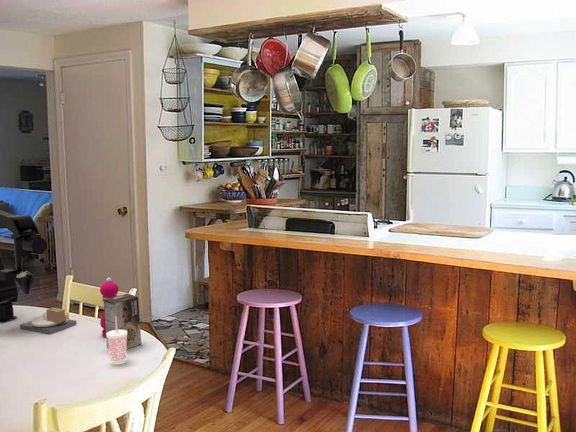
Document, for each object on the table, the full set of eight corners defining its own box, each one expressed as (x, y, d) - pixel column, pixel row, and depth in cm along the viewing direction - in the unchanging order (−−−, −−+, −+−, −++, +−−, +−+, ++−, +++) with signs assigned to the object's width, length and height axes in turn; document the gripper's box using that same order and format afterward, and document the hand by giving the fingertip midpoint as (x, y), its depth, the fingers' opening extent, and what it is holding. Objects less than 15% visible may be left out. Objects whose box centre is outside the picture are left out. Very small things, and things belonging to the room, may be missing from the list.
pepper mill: (99, 333, 209) (96, 276, 206) (120, 330, 212) (117, 274, 209) (102, 339, 202) (99, 281, 200) (124, 336, 205) (121, 278, 203)
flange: (48, 329, 208) (47, 314, 208) (25, 324, 215) (23, 309, 214) (74, 320, 218) (73, 306, 217) (51, 315, 224) (50, 302, 224)
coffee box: (129, 340, 201) (127, 293, 199) (141, 344, 197) (139, 296, 195) (106, 348, 194) (103, 299, 192) (118, 352, 190) (115, 302, 188)
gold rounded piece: (62, 323, 216) (61, 313, 215) (66, 321, 218) (65, 312, 217) (66, 324, 215) (65, 314, 214) (70, 322, 217) (69, 313, 216)
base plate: (20, 328, 215) (19, 324, 215) (47, 319, 226) (47, 315, 226) (49, 334, 208) (49, 330, 208) (76, 324, 219) (76, 320, 219)
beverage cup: (107, 366, 178) (104, 320, 176) (108, 359, 184) (105, 314, 182) (129, 364, 180) (126, 318, 178) (128, 356, 186) (126, 312, 184)
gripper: (14, 258, 202) (17, 303, 204) (60, 248, 218) (63, 290, 220) (-7, 255, 208) (-3, 299, 210) (40, 246, 223) (43, 287, 225)
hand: (26, 294), depth 216 cm, fingers closed
